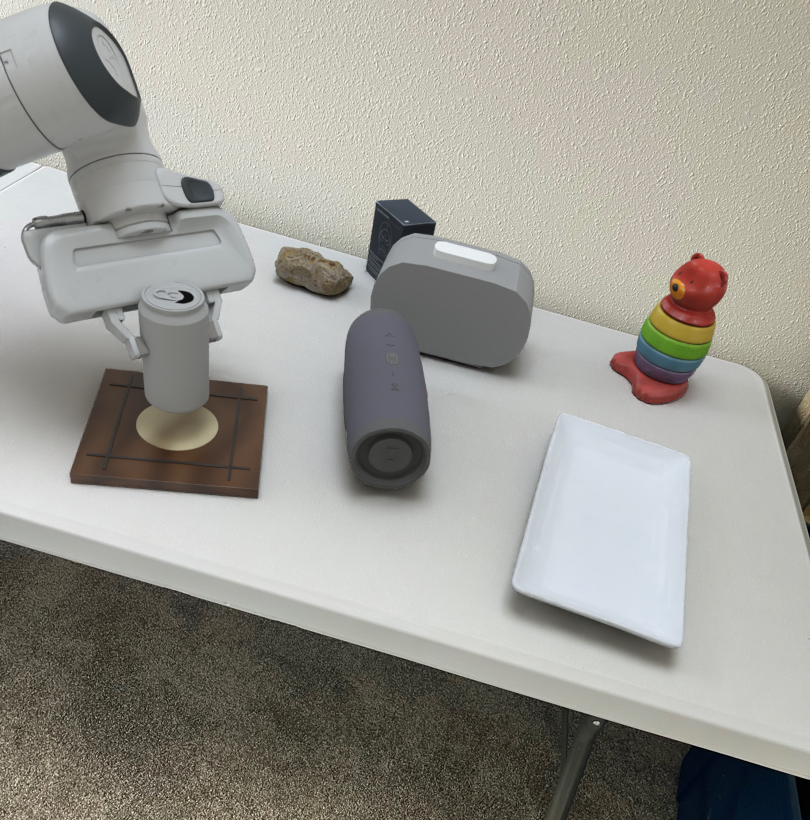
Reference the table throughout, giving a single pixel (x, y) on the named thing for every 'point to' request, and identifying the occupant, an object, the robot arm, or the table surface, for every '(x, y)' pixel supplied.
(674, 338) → the stacking bear
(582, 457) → the tray
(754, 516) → the table surface
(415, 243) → the grey rounded block
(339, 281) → the rock
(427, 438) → the bluetooth speaker
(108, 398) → the board
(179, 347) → the beverage can
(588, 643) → the table surface
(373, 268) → the box
